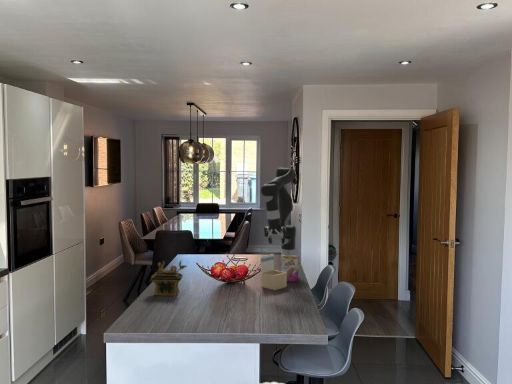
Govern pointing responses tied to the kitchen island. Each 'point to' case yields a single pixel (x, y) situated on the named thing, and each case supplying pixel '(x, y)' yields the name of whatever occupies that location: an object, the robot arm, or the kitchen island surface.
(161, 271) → the decorative box
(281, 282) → the carton
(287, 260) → the candy bar box
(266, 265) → the lid flap
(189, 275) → the kitchen island surface
